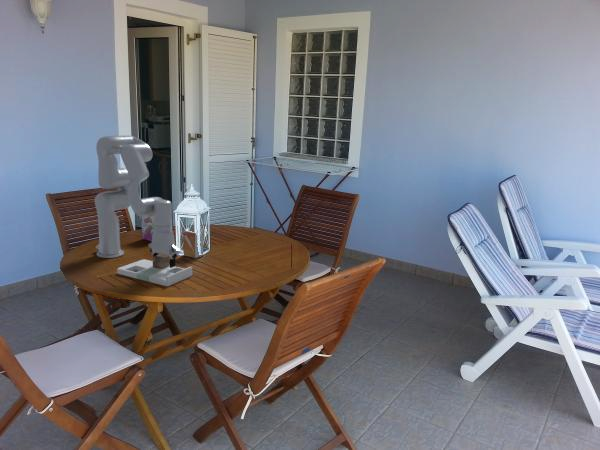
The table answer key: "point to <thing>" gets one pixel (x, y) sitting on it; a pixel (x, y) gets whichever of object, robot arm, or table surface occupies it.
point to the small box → (191, 244)
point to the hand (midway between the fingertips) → (164, 264)
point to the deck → (155, 273)
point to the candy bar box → (147, 227)
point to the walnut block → (160, 261)
